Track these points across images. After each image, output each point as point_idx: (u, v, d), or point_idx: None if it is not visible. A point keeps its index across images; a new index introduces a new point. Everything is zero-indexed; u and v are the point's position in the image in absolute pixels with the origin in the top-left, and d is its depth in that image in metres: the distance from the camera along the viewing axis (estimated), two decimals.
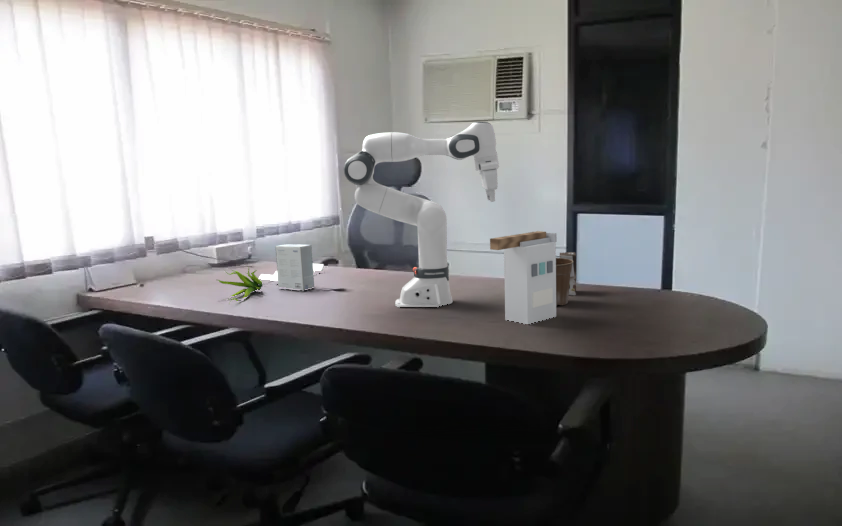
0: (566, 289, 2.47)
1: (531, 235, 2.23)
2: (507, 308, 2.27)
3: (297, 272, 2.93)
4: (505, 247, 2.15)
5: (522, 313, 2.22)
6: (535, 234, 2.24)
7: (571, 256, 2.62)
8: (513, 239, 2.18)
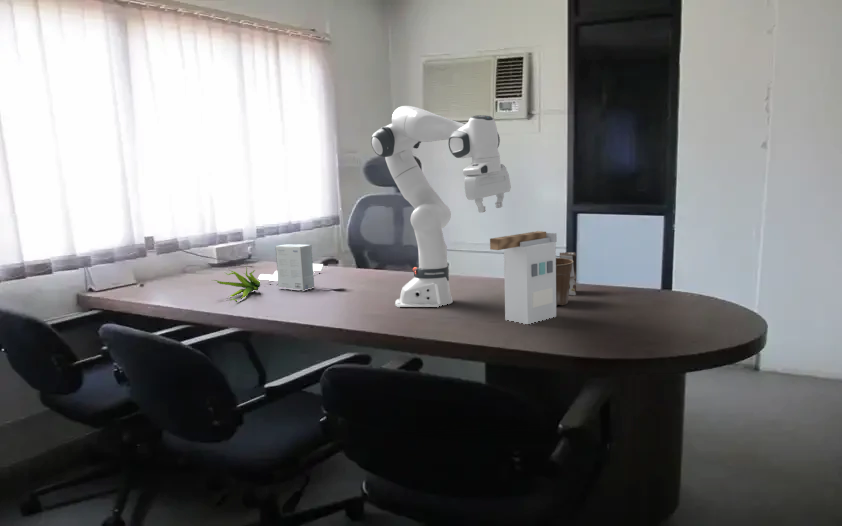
0: (566, 289, 2.47)
1: (531, 235, 2.23)
2: (507, 308, 2.27)
3: (297, 272, 2.93)
4: (505, 247, 2.15)
5: (522, 313, 2.22)
6: (535, 234, 2.24)
7: (571, 256, 2.62)
8: (513, 239, 2.18)
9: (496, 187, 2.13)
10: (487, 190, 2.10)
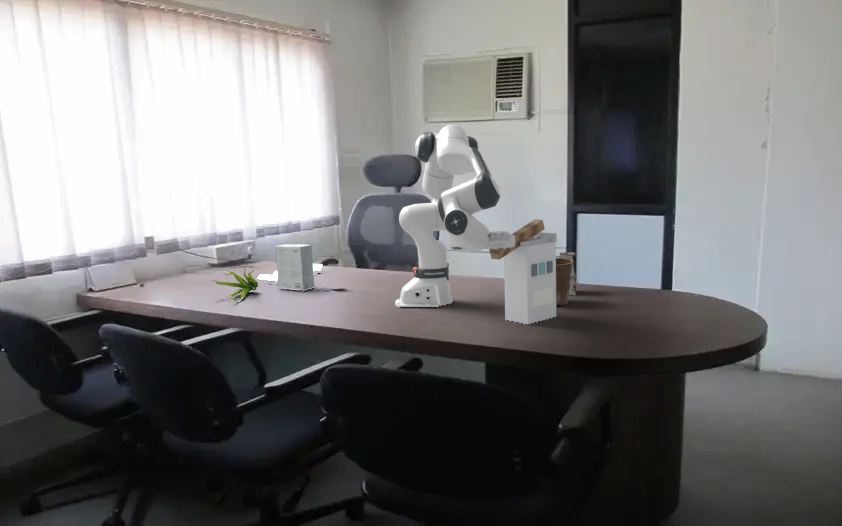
0: (566, 289, 2.47)
1: (528, 230, 2.22)
2: (507, 308, 2.27)
3: (297, 272, 2.93)
4: (506, 253, 2.16)
5: (522, 313, 2.22)
6: (532, 227, 2.23)
7: (571, 256, 2.62)
8: None
9: (487, 247, 2.08)
10: None
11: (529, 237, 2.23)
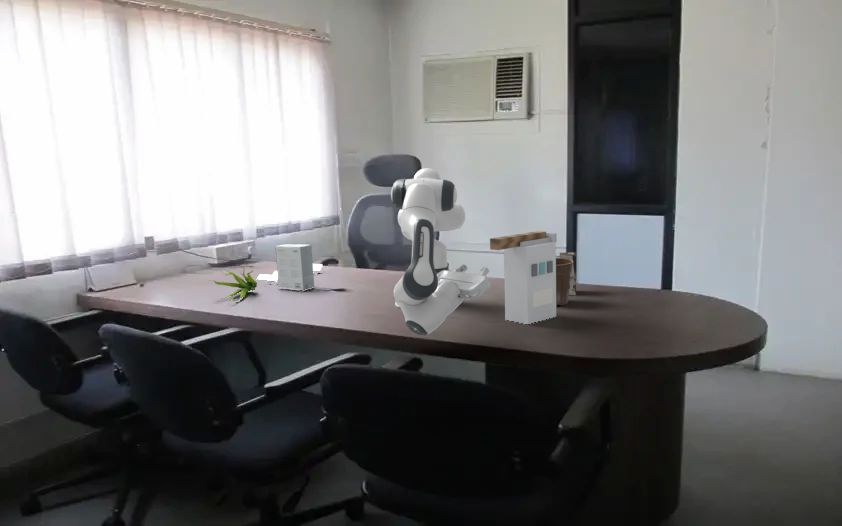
0: (566, 289, 2.47)
1: (531, 235, 2.23)
2: (507, 308, 2.27)
3: (297, 272, 2.93)
4: (505, 247, 2.15)
5: (522, 313, 2.22)
6: (535, 234, 2.24)
7: (571, 256, 2.62)
8: (513, 239, 2.18)
9: None
10: None
11: None
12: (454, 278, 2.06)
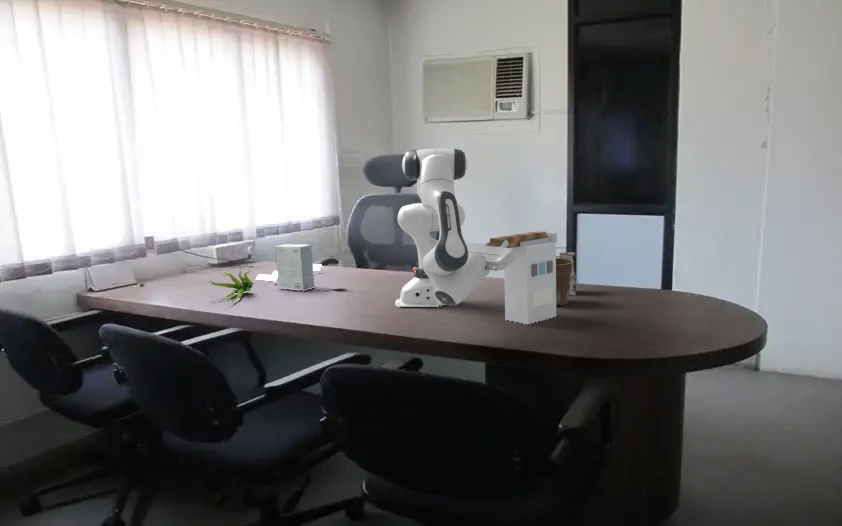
0: (566, 289, 2.47)
1: (531, 235, 2.23)
2: (507, 308, 2.27)
3: (297, 272, 2.93)
4: None
5: (522, 313, 2.22)
6: (535, 234, 2.24)
7: (571, 256, 2.62)
8: (513, 239, 2.18)
9: None
10: None
11: None
12: (480, 251, 2.13)
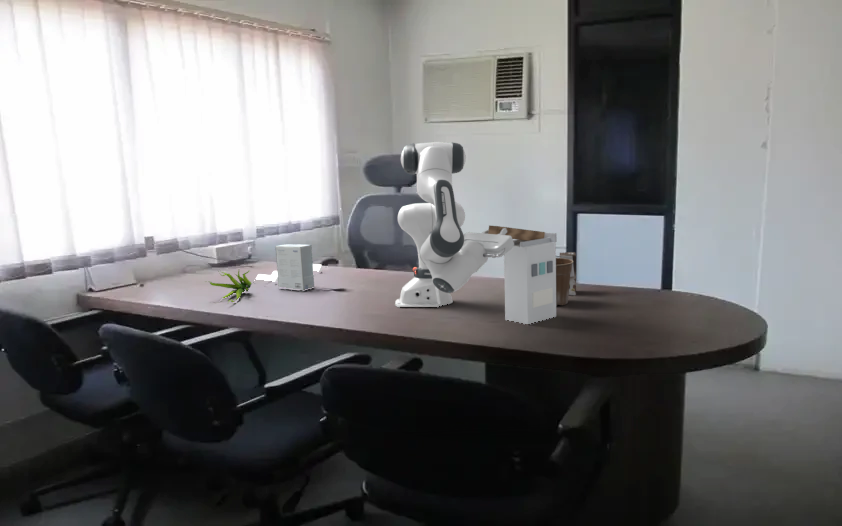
0: (566, 289, 2.47)
1: (530, 231, 2.22)
2: (507, 308, 2.27)
3: (297, 272, 2.93)
4: None
5: (522, 313, 2.22)
6: (534, 231, 2.24)
7: (571, 256, 2.62)
8: (512, 230, 2.17)
9: None
10: None
11: (528, 238, 2.22)
12: (478, 239, 2.12)
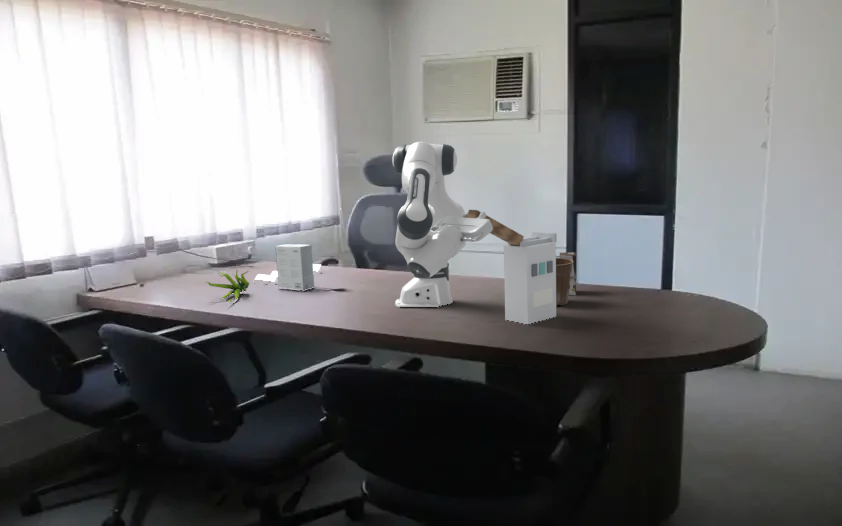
0: (566, 289, 2.47)
1: (509, 229, 2.16)
2: (507, 308, 2.27)
3: (297, 272, 2.93)
4: None
5: (522, 313, 2.22)
6: (513, 231, 2.17)
7: (571, 256, 2.62)
8: (491, 221, 2.10)
9: None
10: None
11: (506, 236, 2.15)
12: (456, 223, 2.05)
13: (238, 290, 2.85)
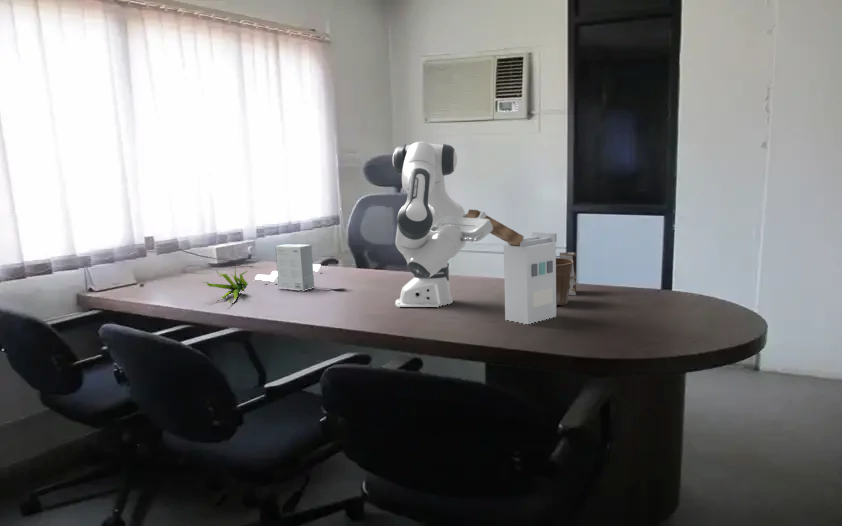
0: (566, 289, 2.47)
1: (509, 229, 2.16)
2: (507, 308, 2.27)
3: (297, 272, 2.93)
4: None
5: (522, 313, 2.22)
6: (513, 231, 2.17)
7: (571, 256, 2.62)
8: (491, 221, 2.10)
9: None
10: None
11: (506, 236, 2.15)
12: (456, 223, 2.05)
13: (237, 290, 2.85)
